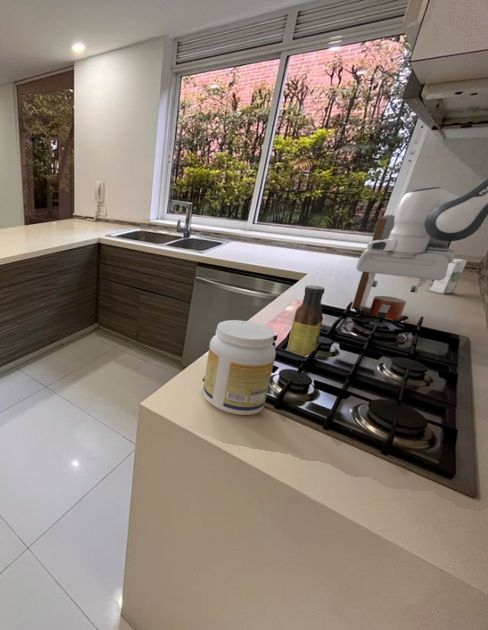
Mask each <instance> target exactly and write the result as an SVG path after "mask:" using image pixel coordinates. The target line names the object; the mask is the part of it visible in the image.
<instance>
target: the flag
mask: <svg viewBox="0 0 488 630" xmlns="http://www.w3.org/2000/svg"><path fill="white" fill-rule="evenodd" d="M395 215H396V214H395ZM395 215H394V214H386V215H384V216H381V217H379V218H378V220H377V222H376V226H375V230H374V233H373V236H372V240H371V241H374V240H380V239H386V238H389V235H390V232H391V231H392V229H393V227H394V218H395ZM451 243H452V241H440V240H436V239H434V238H432V237H430V240H429V243H428V245H427V246H430V247H440V248H443V247H445V248H449V249H450V246H451ZM425 252H426V251H425ZM376 274H377V273H375V275H374V276H373V278H374V279H375V276H376ZM368 275H369V272H362V273H361V276H360V279H359V282H358V286H357V289H356V293H355V296H354V299H353V302H352V305H351V309H353V308H354V307H357V308H359V309H361V310H362V311H363V310H364V309H365V308H366V305H367V303H368V299H369V296H370V292H371V290H372V287H370V284H371V281H370V278H369V276H368Z"/></svg>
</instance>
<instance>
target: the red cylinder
mask: <svg viewBox="0 0 488 630" xmlns="http://www.w3.org/2000/svg"><path fill="white" fill-rule="evenodd" d="M406 305H407V301H406V300H404V299H401V298H398V297H395V296H388V295H376V296H373V299H372V302H371V306H370V309H369V311H368V316H369V315H372V316H377V317H378V318H380V317H383V318H384V319H385V318H388V319H391V320H396V319H398V318H400V317H401V318H402V316H403V313H404V310H405V307H406ZM401 318H400V319H401Z"/></svg>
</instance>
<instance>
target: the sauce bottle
mask: <svg viewBox="0 0 488 630" xmlns="http://www.w3.org/2000/svg"><path fill="white" fill-rule="evenodd" d="M303 290H304V296H303V299H302V303H301V304H300V305H299V306H298V307H297V308H296V310H295V313H294V317H293V320H292V324H291V329H290V333H289V337H288V338H289V339H288V343H287V348H286V350H287V349H288V350H289V351H291V352H293V353H295V354H297V355H301V356H307V355H308V354H309V353H310V352H312V351H314V350H315V349H316V350H317V345H318V341H319V338H320V333H321V329H322V324H323V321H324V317H323V310H322V298H323V295H324V294H325V290H326V289H325V287H324V286H319V285H305V287H304V289H303ZM316 350H315V351H316Z"/></svg>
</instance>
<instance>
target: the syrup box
mask: <svg viewBox="0 0 488 630" xmlns="http://www.w3.org/2000/svg"><path fill="white" fill-rule="evenodd" d="M467 263H468V260H466V259H461V258H458V257H457V258H456V257H454V260H453V261H452V262H451V263H449V264H448V269H447V273H446V277H445V278H444V279H442V280H431V282H430V284H429V286H428V288H427V290H428V291H429V292H433V293H438V294H442V295H445V294H446V295H448V294H453V293H454V291H455V290H456V287H457V285H458V283H459V280H460V279H461V277H462V274H463V271H464V269H465V267H466V264H467Z"/></svg>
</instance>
